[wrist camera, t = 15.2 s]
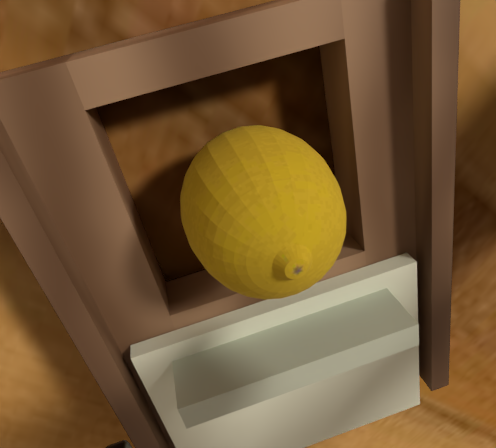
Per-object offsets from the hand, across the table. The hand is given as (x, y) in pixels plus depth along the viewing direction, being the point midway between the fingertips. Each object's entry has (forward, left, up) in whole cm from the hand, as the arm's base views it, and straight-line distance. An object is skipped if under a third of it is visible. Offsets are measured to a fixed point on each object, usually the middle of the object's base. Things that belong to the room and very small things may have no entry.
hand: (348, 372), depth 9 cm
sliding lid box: (0, +4, -12) cm, 12 cm away
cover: (0, +10, -9) cm, 14 cm away
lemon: (0, 0, -12) cm, 12 cm away
